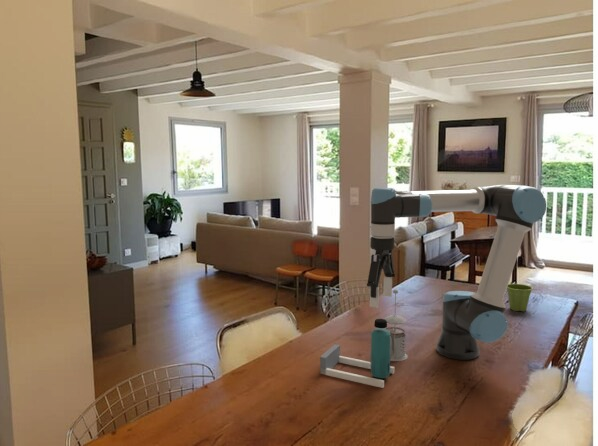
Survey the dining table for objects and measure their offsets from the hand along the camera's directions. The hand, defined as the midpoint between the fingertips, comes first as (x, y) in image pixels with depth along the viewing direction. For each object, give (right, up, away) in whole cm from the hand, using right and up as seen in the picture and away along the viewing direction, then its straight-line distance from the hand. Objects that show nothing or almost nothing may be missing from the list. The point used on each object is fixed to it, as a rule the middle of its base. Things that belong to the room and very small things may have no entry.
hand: (381, 301), depth 152 cm
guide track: (-7, -26, +7) cm, 27 cm away
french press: (+8, -24, +20) cm, 33 cm away
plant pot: (+79, -16, +74) cm, 110 cm away
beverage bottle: (0, -26, +3) cm, 26 cm away
